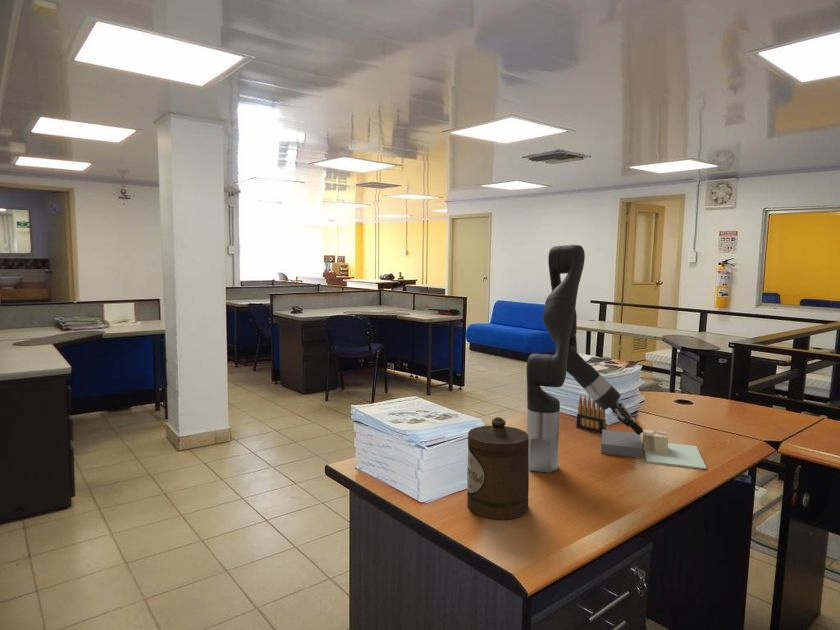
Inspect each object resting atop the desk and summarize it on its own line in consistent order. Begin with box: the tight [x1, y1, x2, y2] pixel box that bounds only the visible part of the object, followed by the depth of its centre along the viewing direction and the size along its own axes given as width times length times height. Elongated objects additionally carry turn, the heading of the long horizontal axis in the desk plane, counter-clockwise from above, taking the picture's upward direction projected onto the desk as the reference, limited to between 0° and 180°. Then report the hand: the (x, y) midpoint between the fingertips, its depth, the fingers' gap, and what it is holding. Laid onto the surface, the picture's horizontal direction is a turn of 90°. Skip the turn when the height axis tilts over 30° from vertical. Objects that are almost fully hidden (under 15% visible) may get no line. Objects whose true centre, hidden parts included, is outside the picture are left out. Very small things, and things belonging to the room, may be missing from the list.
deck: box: [600, 429, 644, 459], centre depth 173 cm, size 16×12×3 cm
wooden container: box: [466, 416, 530, 521], centre depth 130 cm, size 15×15×22 cm
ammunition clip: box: [575, 394, 607, 435], centre depth 191 cm, size 11×2×12 cm, turn 43°
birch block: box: [641, 429, 669, 453], centre depth 170 cm, size 6×5×7 cm
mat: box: [644, 442, 708, 470], centre depth 166 cm, size 20×16×1 cm
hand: (640, 432), depth 171 cm, fingers closed
